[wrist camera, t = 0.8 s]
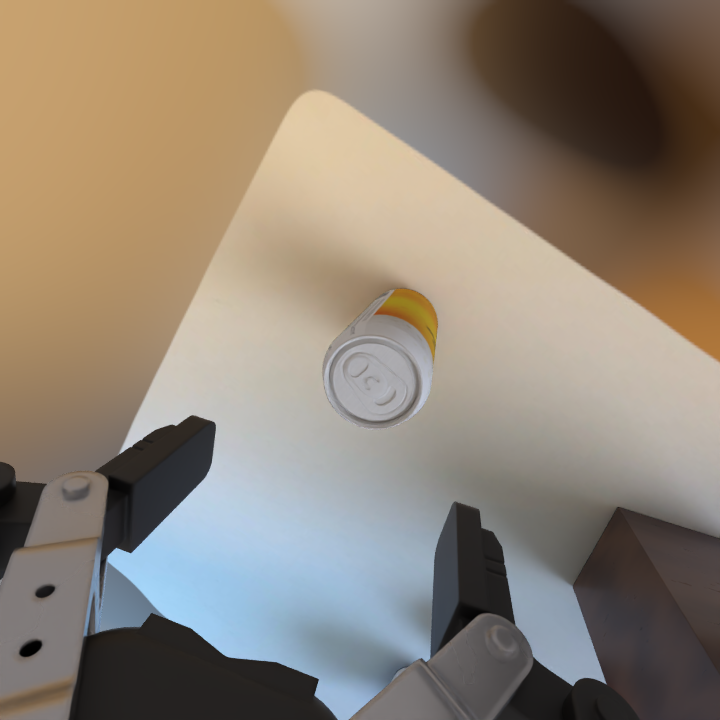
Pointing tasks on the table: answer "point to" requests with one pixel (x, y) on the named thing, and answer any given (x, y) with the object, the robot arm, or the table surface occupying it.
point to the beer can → (383, 361)
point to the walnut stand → (655, 616)
